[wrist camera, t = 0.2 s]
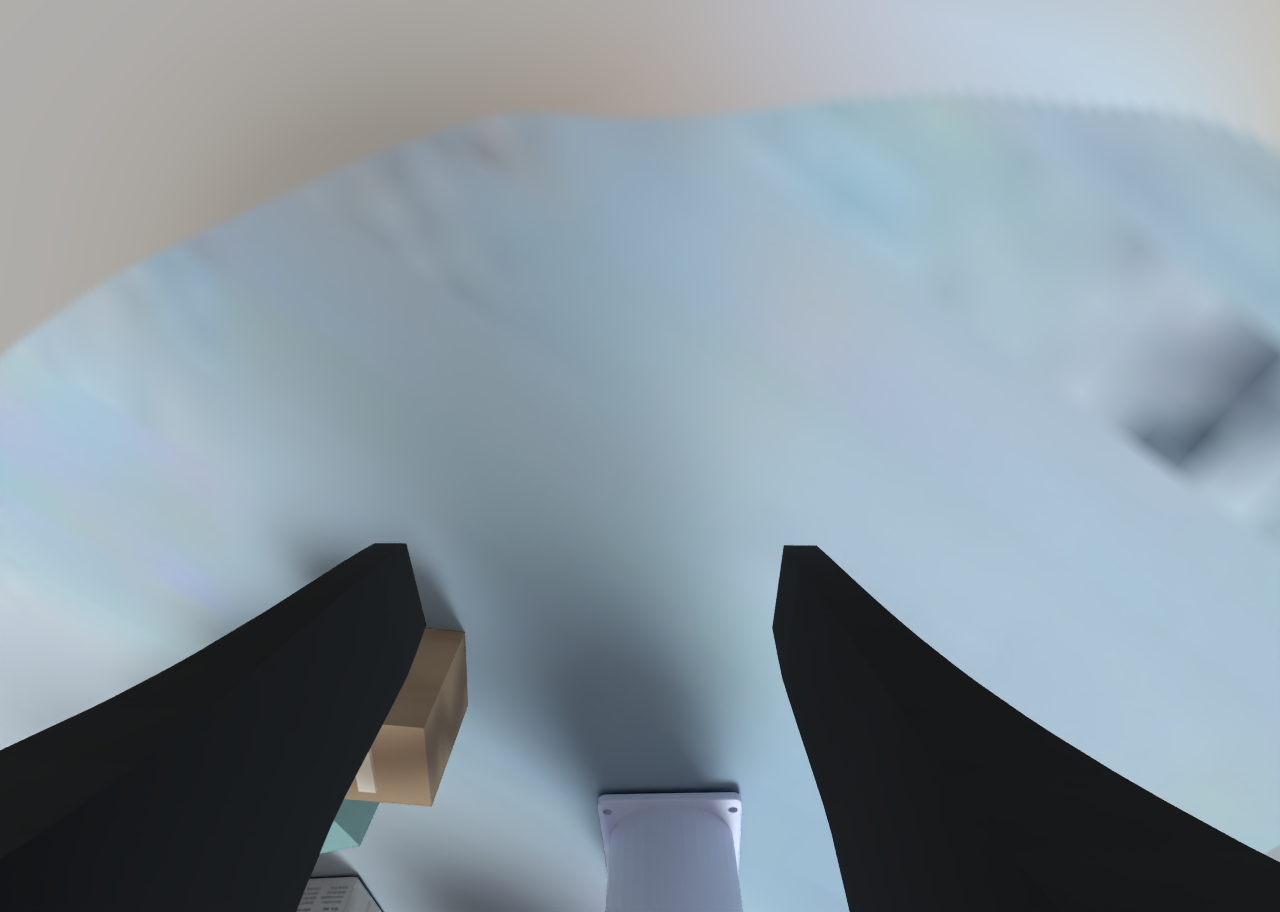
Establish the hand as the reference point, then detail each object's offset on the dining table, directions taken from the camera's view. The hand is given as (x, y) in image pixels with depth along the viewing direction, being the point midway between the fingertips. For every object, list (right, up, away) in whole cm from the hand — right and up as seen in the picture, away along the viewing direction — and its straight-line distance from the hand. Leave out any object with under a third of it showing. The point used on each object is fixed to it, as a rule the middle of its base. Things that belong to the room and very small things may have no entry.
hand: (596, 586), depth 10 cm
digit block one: (-10, -8, +15) cm, 20 cm away
